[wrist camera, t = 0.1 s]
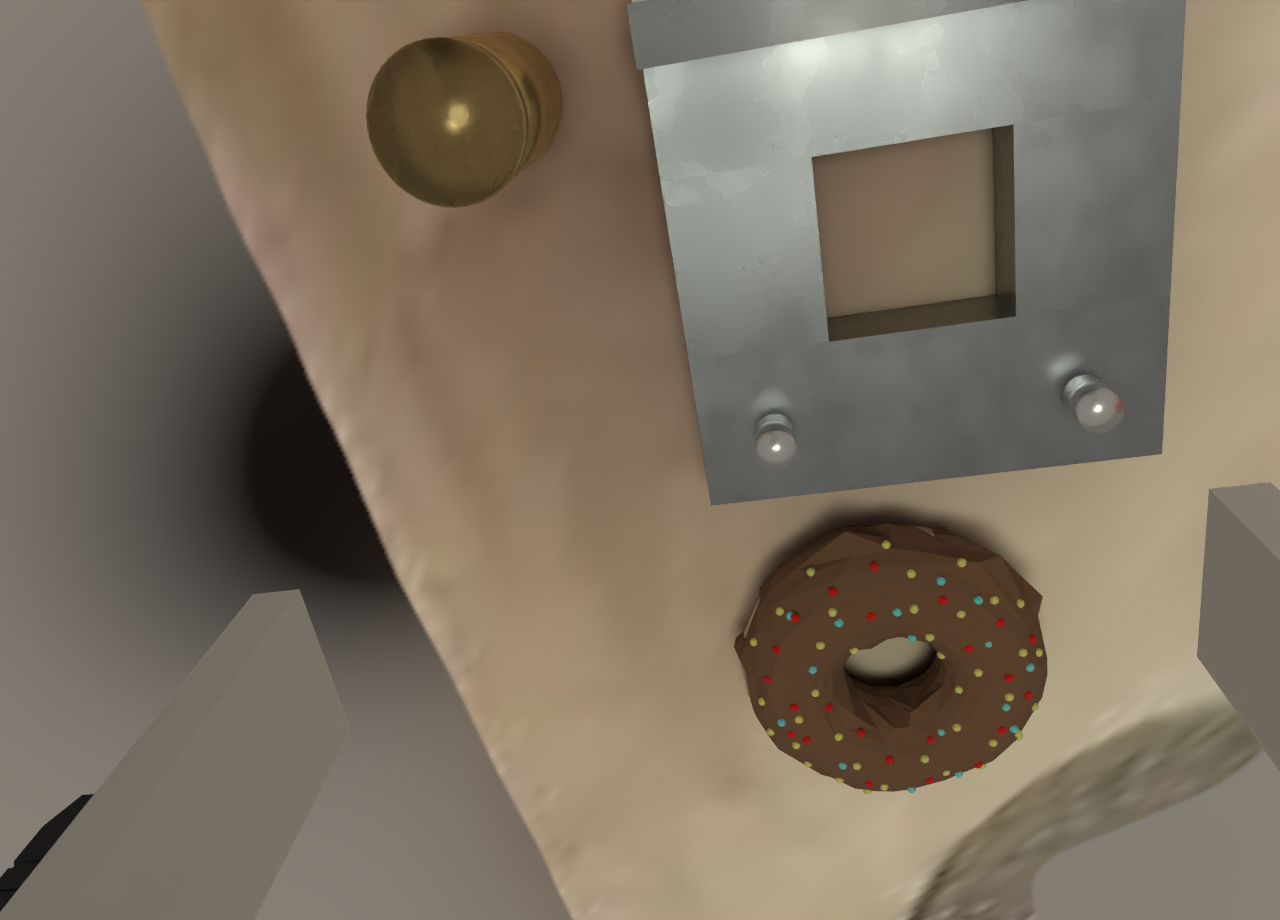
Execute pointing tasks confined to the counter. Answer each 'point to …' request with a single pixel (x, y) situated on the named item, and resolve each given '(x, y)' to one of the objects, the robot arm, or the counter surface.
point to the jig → (935, 333)
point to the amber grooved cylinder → (462, 115)
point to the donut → (882, 609)
